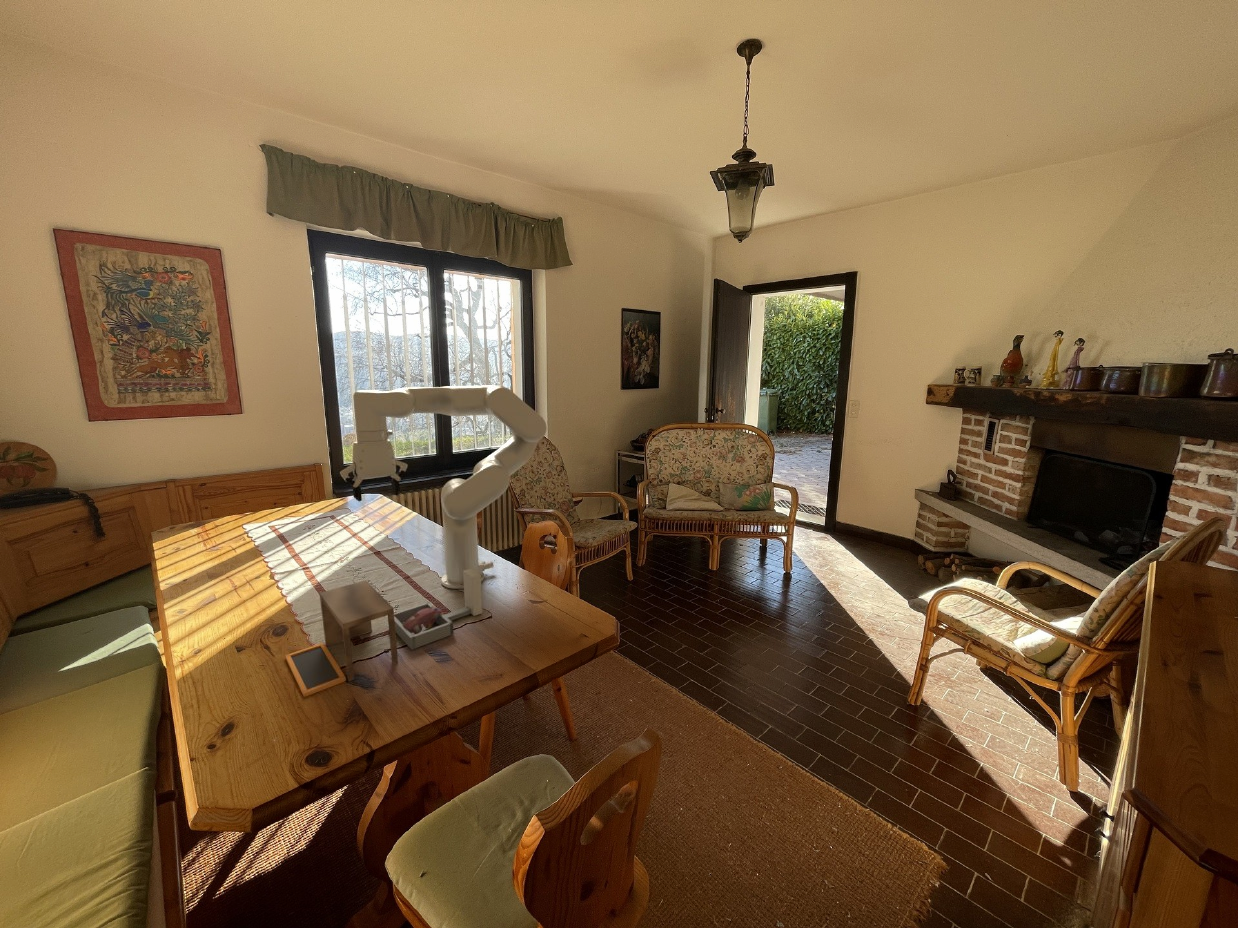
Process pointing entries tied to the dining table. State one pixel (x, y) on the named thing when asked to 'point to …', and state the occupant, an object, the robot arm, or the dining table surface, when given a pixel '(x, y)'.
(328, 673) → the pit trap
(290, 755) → the dining table surface
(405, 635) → the grey drawer with handle
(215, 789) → the dining table surface
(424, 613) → the video game controller
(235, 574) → the dining table surface
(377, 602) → the brown wooden stand
